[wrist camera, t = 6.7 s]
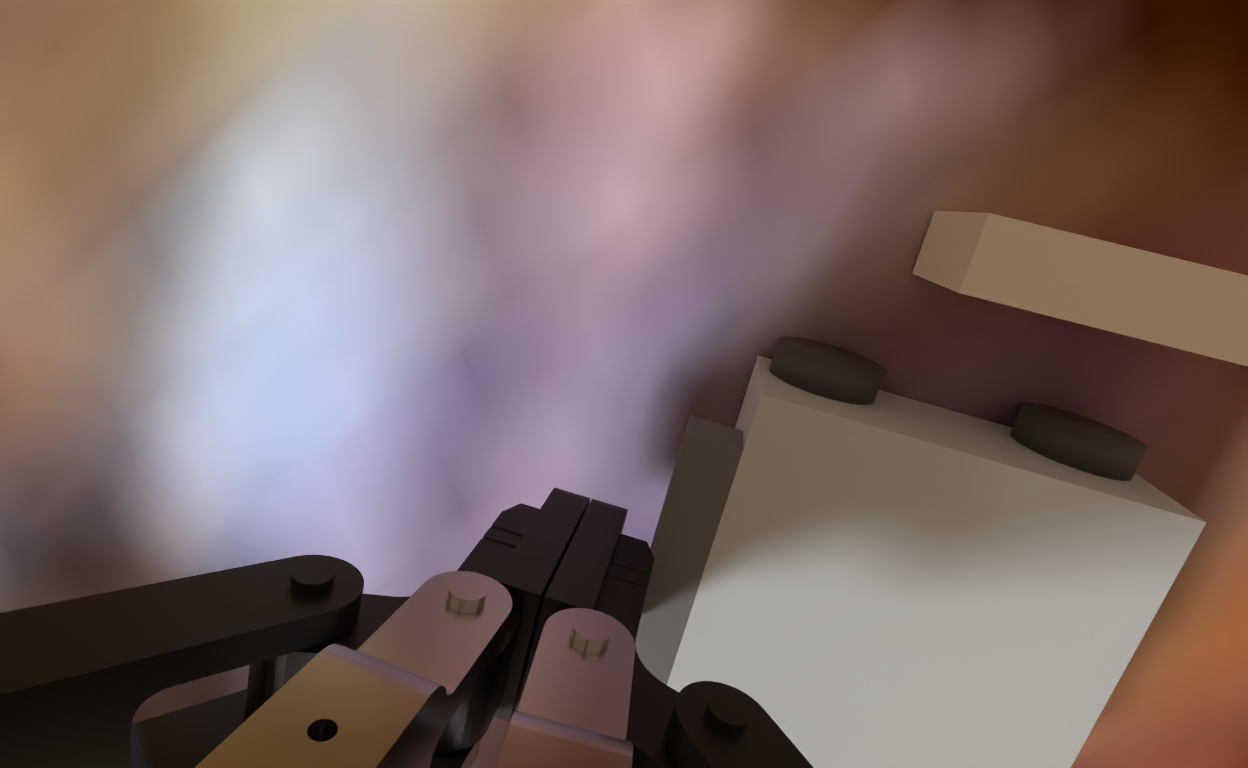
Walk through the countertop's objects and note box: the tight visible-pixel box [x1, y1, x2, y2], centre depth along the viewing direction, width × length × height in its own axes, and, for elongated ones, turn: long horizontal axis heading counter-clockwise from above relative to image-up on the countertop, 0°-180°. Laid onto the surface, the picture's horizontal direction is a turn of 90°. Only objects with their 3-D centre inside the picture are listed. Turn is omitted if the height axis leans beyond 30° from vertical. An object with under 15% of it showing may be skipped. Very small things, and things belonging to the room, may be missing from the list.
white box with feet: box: [635, 337, 1207, 768], centre depth 14 cm, size 9×8×3 cm
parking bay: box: [912, 211, 1248, 366], centre depth 13 cm, size 15×13×3 cm
